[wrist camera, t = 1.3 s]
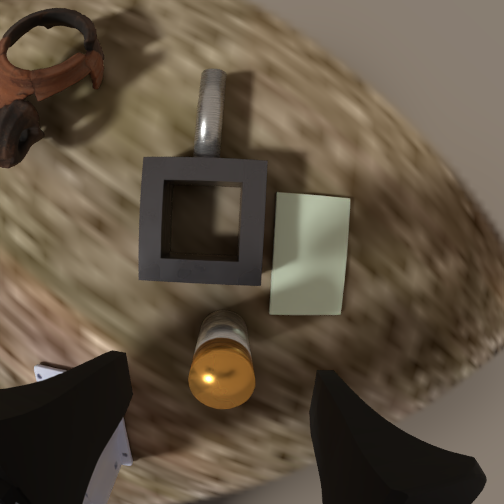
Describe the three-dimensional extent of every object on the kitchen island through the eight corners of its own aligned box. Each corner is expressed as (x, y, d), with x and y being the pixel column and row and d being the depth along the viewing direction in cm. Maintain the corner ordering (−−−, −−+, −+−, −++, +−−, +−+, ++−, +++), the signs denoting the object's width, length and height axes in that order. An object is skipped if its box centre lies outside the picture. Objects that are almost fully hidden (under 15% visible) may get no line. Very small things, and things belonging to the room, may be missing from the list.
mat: (338, 313, 21) (340, 314, 21) (269, 312, 21) (269, 314, 21) (348, 198, 20) (350, 198, 20) (276, 192, 20) (277, 192, 20)
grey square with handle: (256, 275, 21) (260, 285, 18) (151, 271, 20) (138, 279, 17) (266, 86, 19) (271, 67, 16) (164, 83, 19) (156, 64, 16)
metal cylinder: (246, 353, 21) (253, 409, 14) (200, 351, 21) (189, 407, 14) (248, 310, 21) (257, 354, 14) (200, 308, 21) (187, 351, 14)
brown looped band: (14, 67, 18) (11, 1, 11) (105, 71, 22) (124, 5, 15) (-24, 188, 16) (-59, 138, 9) (83, 191, 21) (88, 138, 14)
